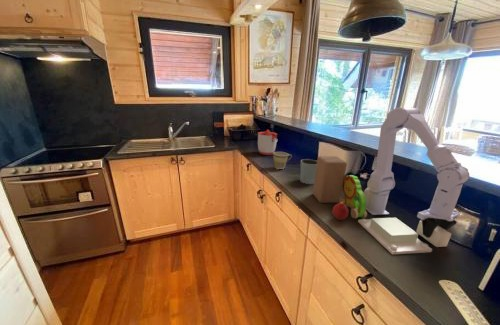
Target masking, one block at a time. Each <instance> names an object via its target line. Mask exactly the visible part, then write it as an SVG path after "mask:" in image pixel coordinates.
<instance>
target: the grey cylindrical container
mask: <svg viewBox="0 0 500 325" xmlns="http://www.w3.org/2000/svg"><path fill="white" fill-rule="evenodd" d="M316 167H317V159H316V160H315V159H311V158H310V159H309V158H305V159H301V160H300V172H299V173H300V177H299V180H300V181H299V182H301V183H302V184H304V183H305V184H306V185H314V181H315V174H316Z"/></svg>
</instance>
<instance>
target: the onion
mask: <svg viewBox="0 0 500 325" xmlns="http://www.w3.org/2000/svg"><path fill="white" fill-rule="evenodd" d="M332 214H333V216H334V217H335V218H336V220H338V221H341V220H342V221H343V220H345V219H346V218H348V216H349V208H348V206H346V205H345V204H344V203H343V202H340V203H339V202H338V203H335V205H334V206H333V207H332Z"/></svg>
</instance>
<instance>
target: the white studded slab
mask: <svg viewBox="0 0 500 325" xmlns="http://www.w3.org/2000/svg"><path fill="white" fill-rule="evenodd" d="M357 223H359V225H360V226H362V227H363V228H364V229H365V230H366V231H367V232H368V233H369V234H370V235H371V236H372V237H374V239H375V240H376V241H378V242H379V243H380V245H382V246H383V247H384V248H385V249H386V250H387V251H388V252H389V253H390V254H391V255H404V254H405V255H406V254H420V253H421V254H423V253H432V252H433V248H431V247H430V246H429V244H427V243H425V242H423V241H421V240H420V239H419V238H418V237H419V234H418V233H416V231H415V230H414V229H412V228H411V227H409V226H408V225H407V224H405V223H404V222H402V221H401V220H400V219H398V218H397V217H373V218H369V219H368V218H361V219H358V220H357Z"/></svg>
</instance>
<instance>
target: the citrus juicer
mask: <svg viewBox="0 0 500 325" xmlns="http://www.w3.org/2000/svg"><path fill="white" fill-rule="evenodd" d="M277 142H278V133H276V132H274V131H272V132H271V131H270V129H266V130H264V131H259V132H257V150H258V153H259V154H260V155H263V156H271V155H272V156H273V153H274V152H276V148H277Z"/></svg>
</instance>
